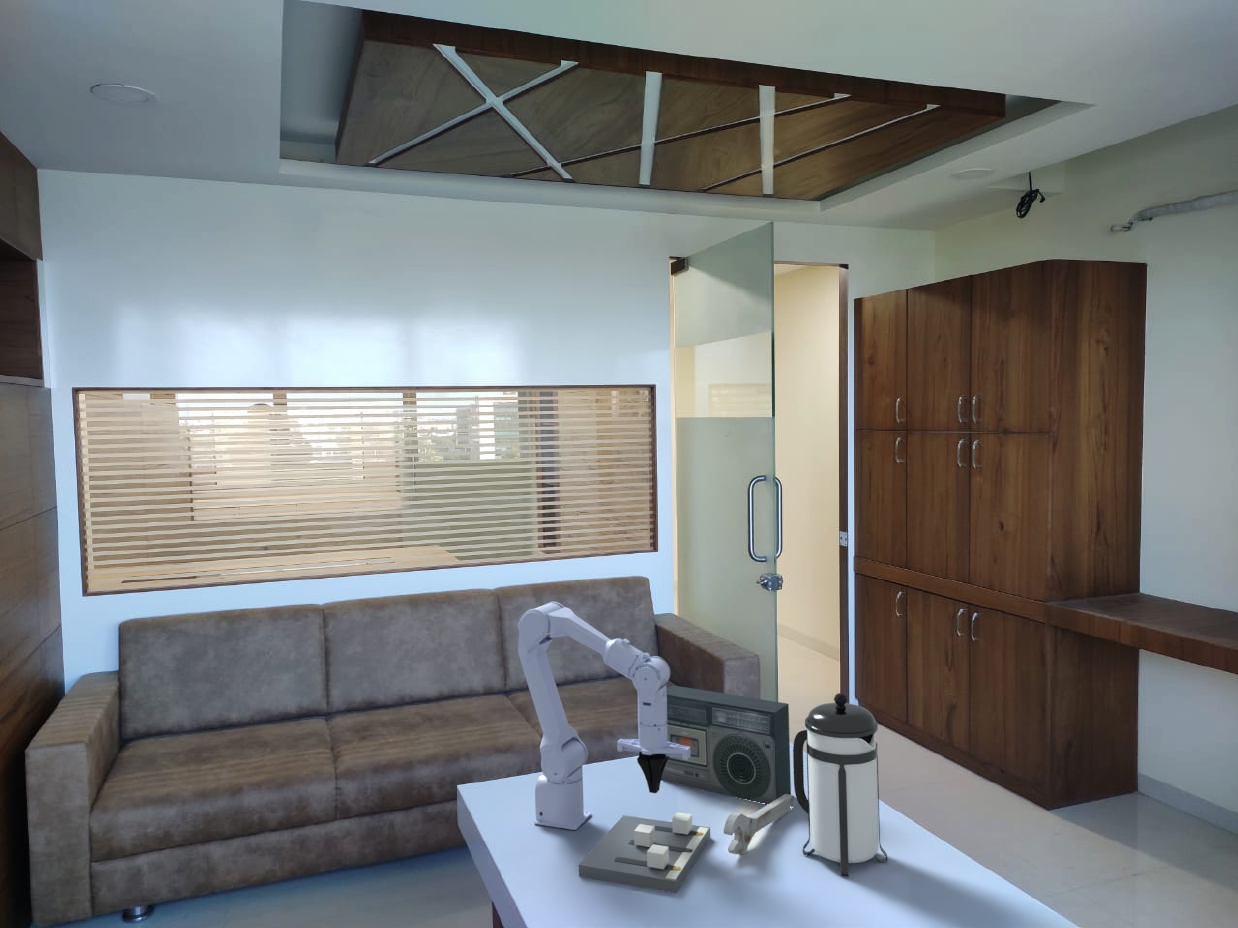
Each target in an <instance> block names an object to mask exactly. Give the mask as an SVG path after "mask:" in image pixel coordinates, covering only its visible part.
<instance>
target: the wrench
mask: <svg viewBox="0 0 1238 928" xmlns="http://www.w3.org/2000/svg"><path fill="white" fill-rule="evenodd" d="M795 805H796V798H795V795H793V794H791V795H789V794H784V795H783V796H781V797H779V798H778V799H776V800H775V801H773V802H771V803H770V804H768V805H764V807H761V809H758V810H756V812H753V813H752V814H751V815H749V816H747V815H745V814H743V813H742V812H741V813H740V812H736V811H732V812H731V813H730V814H729V815H728V816H727V819H726V821H725V824H724V828H723V834H724V835H726V836H727V835H728V836H732V837H733V839H732V841H731V842H730V843H729V845H728V847H727V851H728V853H730V854H732V855H739V854H741V853H742V855H747V852H748V847H749V845H750V843H751V841H752V839H753V837H755V835H756V833H758V832H759V831H761V830H762V829H763V828H766V827H767V826H768V825H770V824H771V823H774V822H775V821H776V820H778V819H780V818H781V817H783V816H785V815H787V814H788V813H789V812H791V811H792V810H791V808H790V806H791V807H794V808H795ZM790 810H791V811H790ZM733 835H734V836H733Z"/></svg>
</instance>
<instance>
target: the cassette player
mask: <svg viewBox="0 0 1238 928" xmlns="http://www.w3.org/2000/svg"><path fill="white" fill-rule="evenodd" d="M666 693H667V728H668V742H672V743H675V744H679V745H683V746H688V747H690V758H689V759H688V760H684V759H682V758H678V757H670V756H669V759H668V761H667V763H666V765H665V768H664V771H663V774H662V777H661V781H664V782H668V783H672V784H676V785H681V786H685V787H689V788H693V789H696V790H701V791H705V792H710V793H714V794H718V795H722V796H726V797H730V796H731V797H732V798H735V797H737V798H736V799H739V798H741V799H740V800H743V799H747V800H751V801H756V802H760V803H765V804H770V803H771V802H773V801H775V800H776V799H778V798H779V797H781V796H783V795H784V794H789V795H792V789H791V788H792V786H791V784H792V783H791V782H792V780H791V779H792V778H791V752H790V751H791V749H790V748H791V746H790V712H789V710H790V709H789V703H785V702H780V701H773V700H768V699H767V700H766V699H760V698H754V697H750V696H749V697H748V696H741V695H734V694H729V693H724V692H717V691H711V690H705V689H704V690H703V689H697V688H691V687H685V686H678V685H671V686H668V687H666ZM731 797H730V798H731ZM747 800H746V801H747ZM751 801H750V802H751ZM756 802H755V803H756ZM760 803H759V804H760Z"/></svg>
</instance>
